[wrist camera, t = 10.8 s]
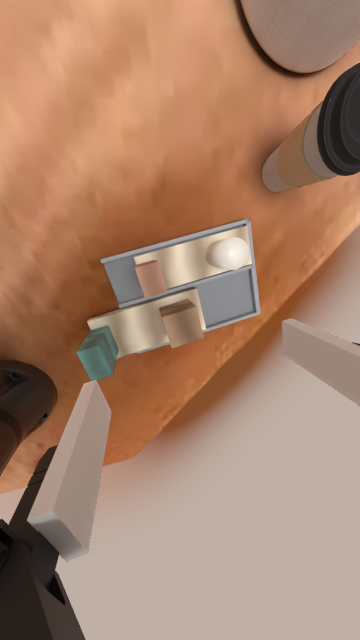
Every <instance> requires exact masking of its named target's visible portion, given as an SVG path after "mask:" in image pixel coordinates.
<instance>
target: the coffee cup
mask: <svg viewBox="0 0 360 640" xmlns="http://www.w3.org/2000/svg"><path fill="white" fill-rule="evenodd" d="M358 172H360V63H358V64H356V65H355V66H353V67H352V68H350V69H348V70H347V71H345V72H344V73H343V74H342V75H340V76H339V77H338V78H337V80H336V81H335V82H334V83H333V85H332V86H331V88H330V89H329V91H328V93H327V94H326V96H325V99H324V101H322V102H321V103H320V104H319V105H318V106H317V107H316V108H315V109H314V110H313V111H312V112H311V113H310V114H309V115H308V116H307V117H306V118H305V119H304V120H303V121H302V122H301V123H300V124H299V125H298V126H297V127H296V128H295V129H294V130H293V131H292V132H291V133H290V134H289V135H288V136H287V137H286V139H285V140H284V142H283V143H282V144H281V145H280V146H279V147H278V148H277V149H276V150H275V151H274V152H273V153H272V154H271V155H270V156H269V157H268V158H267V160H266V161H265V163H264V166H263V169H262V180H263V183H264V185H265V186H266V188H267V189H269V190H270V191H272V192H280V191H284V190H288V189H291V188H298V187H302V186H306V185H309V184H313V183H317V182H320V181H324V180H327V179H331V178H333V177H335V176H337V175H342V176H348V175H353V174H356V173H358Z"/></svg>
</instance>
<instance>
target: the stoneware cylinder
mask: <svg viewBox="0 0 360 640" xmlns="http://www.w3.org/2000/svg"><path fill="white" fill-rule="evenodd" d="M248 255H249V249H248V246H247V244H246V242H245V241H244V240H243V239H241V238H238V237H233V238H228V239H223V240H217V241H214V242H213V243H211V244H210V245H209V247H208V249H207V252H206V258H207V261H208V263H209V264H210V265H211V266H213V267H216V268H222V269H228V270H237V269H239V268H241V267H242V266H243V265H244V264H245V263H246V261H247V259H248Z"/></svg>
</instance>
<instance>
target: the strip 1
mask: <svg viewBox="0 0 360 640" xmlns="http://www.w3.org/2000/svg"><path fill="white" fill-rule="evenodd" d="M233 237H238V238H241V239H243V240H244V241H245V242H246V244H247V246H248V249H249V255H248V259H247V261H246V263H245V264H244V265H243V266H246V265H249V264H252V262H251V253H250V244H249V236H248V227H247V226H243V227H240V228H236V229H233V230H229V231H225V232H222V233H218V234H215V235H211V236H208V237H204V238H200V239H197V240H193V241H190V242H186V243H183V244H179V245H175V246H172V247H168V248H165V249H161V250H158V251H154V252H150V253H147V254H143V255H140V256H136V257H134V259H135V262H136V266H135V270H136V273H137V276H138V279H139V282H140V285H141V288H142V291H143V294H144V297H145V299H146V298H149V297H153V296H156V295H159V294H163V293H166V292H167V289H169V288H173V287H176V286H179V285H183V284H186V283H189V282H193V281H196V280H199V279H203V278H206V277H209V276H213V275H216V274H219V273H223V272H226V271H229V270H228V269H222V268H216V267H213V266H211V265H210V264H209V263H208V261H207V258H206V252H207V249H208V247H209V245H210V244H211V243H213V242H214V241H217V240H223V239H228V238H233ZM243 266H242V267H243Z"/></svg>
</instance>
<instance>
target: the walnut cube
mask: <svg viewBox="0 0 360 640" xmlns="http://www.w3.org/2000/svg"><path fill="white" fill-rule="evenodd" d="M159 310H160V313H161V316H162V320H163V323H164V326H165V329H166V332H167V335H168V338H169V341H170V345H171V348H175V347H178V346H181V345H184V344H187V343H190V342H193V341H196V340H199V339H202V338H204V335H203V331H202V327H201V323H200V318H199V314H198V310H197V306H196V305H194V304H193V303H192V302H191V301H190V300H189V299H186V300H183V301H180V302H176V303H173V304H170V305H167V306H163V307H160V308H159Z"/></svg>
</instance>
